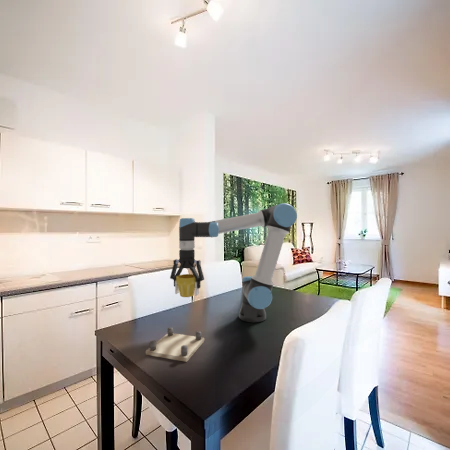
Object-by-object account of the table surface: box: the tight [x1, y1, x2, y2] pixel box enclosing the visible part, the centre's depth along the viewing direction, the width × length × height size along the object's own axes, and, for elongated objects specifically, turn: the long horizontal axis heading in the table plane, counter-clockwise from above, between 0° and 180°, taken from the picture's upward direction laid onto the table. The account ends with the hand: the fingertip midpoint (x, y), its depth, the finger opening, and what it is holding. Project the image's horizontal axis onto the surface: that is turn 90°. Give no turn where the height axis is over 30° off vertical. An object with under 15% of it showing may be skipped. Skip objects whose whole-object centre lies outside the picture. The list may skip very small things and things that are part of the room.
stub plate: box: [145, 326, 205, 362], centre depth 107 cm, size 18×18×4 cm
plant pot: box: [176, 273, 197, 298], centre depth 125 cm, size 10×10×10 cm
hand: (186, 294), depth 125 cm, fingers closed on plant pot, 10 cm apart
